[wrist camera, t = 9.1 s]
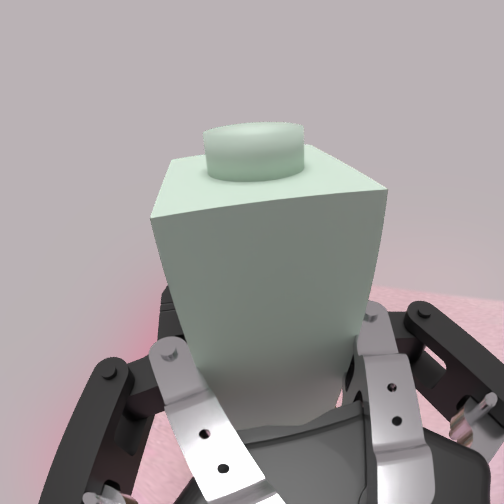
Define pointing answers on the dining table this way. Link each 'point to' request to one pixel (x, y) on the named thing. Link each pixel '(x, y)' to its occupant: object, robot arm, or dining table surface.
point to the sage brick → (269, 268)
